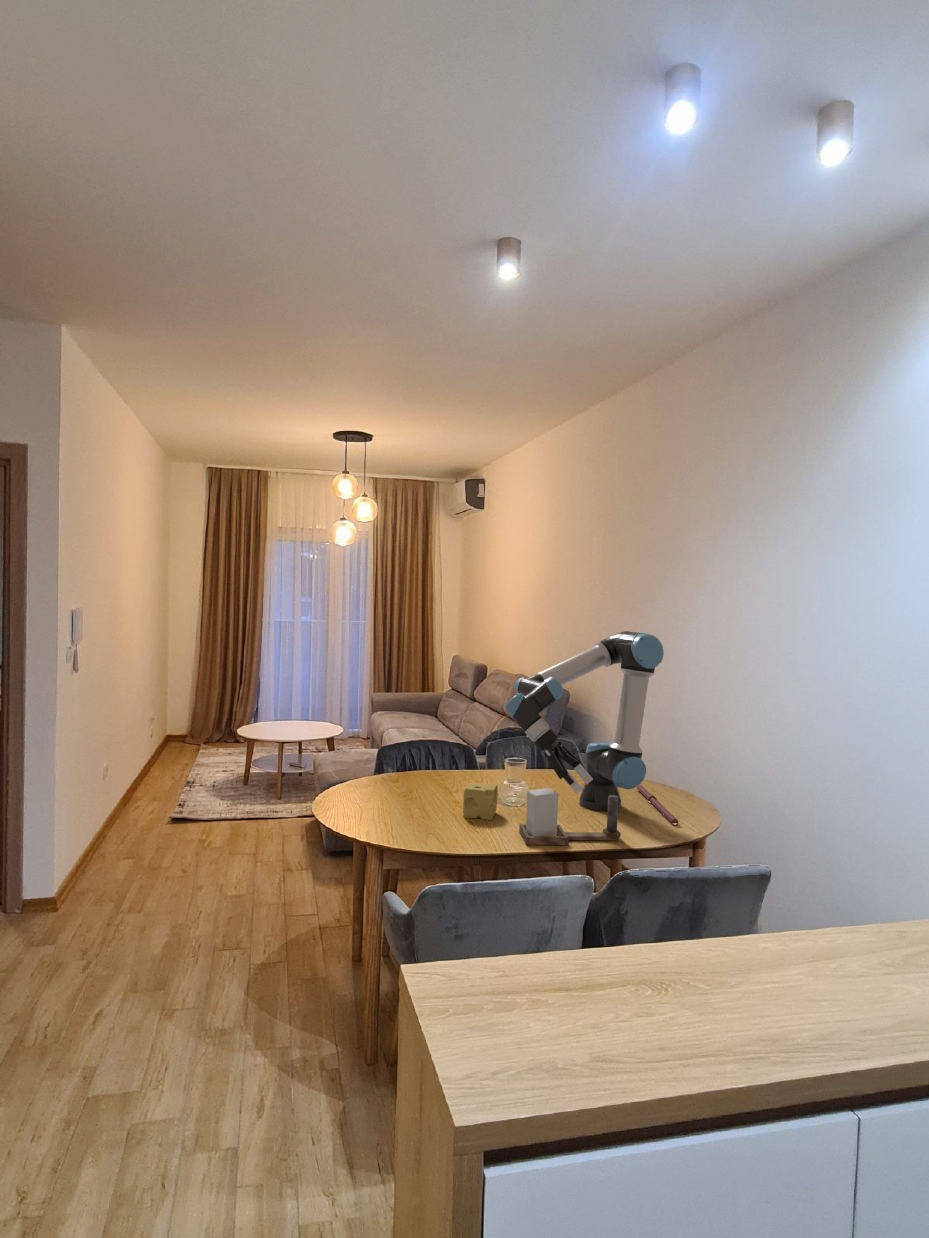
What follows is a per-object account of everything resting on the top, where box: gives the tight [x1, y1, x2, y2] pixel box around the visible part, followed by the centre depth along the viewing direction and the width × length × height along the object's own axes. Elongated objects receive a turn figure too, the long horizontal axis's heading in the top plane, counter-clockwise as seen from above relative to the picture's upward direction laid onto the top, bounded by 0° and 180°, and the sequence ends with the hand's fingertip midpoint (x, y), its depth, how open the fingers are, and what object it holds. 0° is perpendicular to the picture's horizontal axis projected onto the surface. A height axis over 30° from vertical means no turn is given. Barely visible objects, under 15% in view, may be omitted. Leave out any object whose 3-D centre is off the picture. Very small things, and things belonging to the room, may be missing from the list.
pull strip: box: [518, 795, 622, 846], centre depth 244 cm, size 31×13×13 cm, turn 95°
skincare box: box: [525, 787, 559, 837], centre depth 241 cm, size 8×7×16 cm
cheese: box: [462, 782, 499, 821], centre depth 266 cm, size 10×11×10 cm
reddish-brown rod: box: [636, 784, 679, 824], centre depth 284 cm, size 45×3×3 cm, turn 2°
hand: (585, 786), depth 248 cm, fingers open, 13 cm apart
